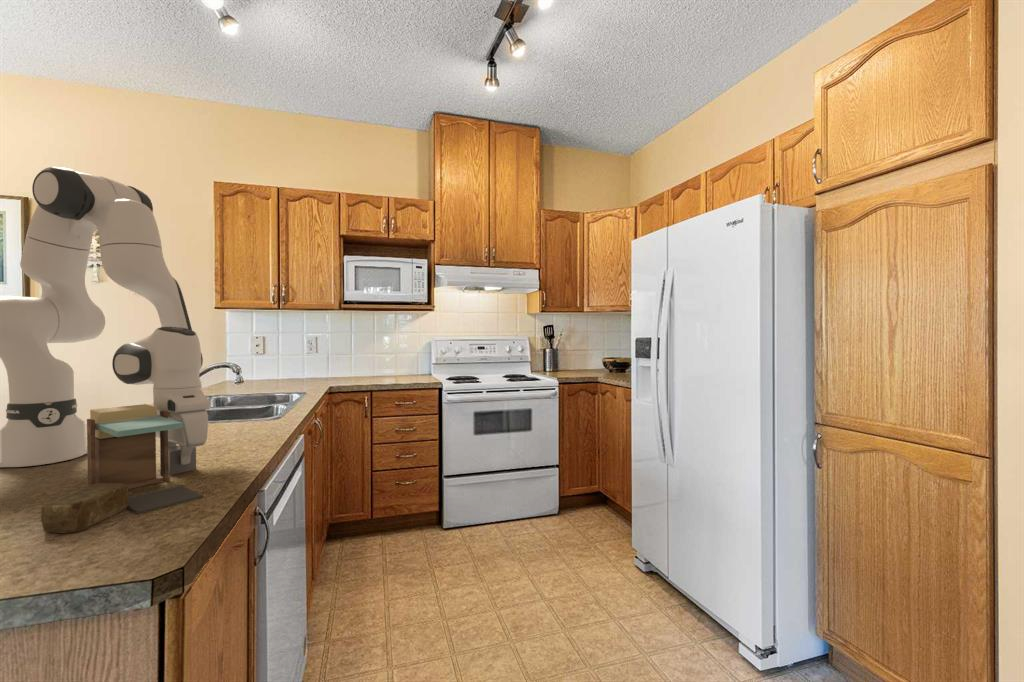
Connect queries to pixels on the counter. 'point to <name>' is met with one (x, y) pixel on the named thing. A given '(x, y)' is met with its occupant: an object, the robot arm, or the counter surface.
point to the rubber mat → (161, 499)
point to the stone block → (84, 507)
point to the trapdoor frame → (126, 458)
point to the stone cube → (174, 460)
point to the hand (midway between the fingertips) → (178, 461)
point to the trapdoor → (130, 421)
